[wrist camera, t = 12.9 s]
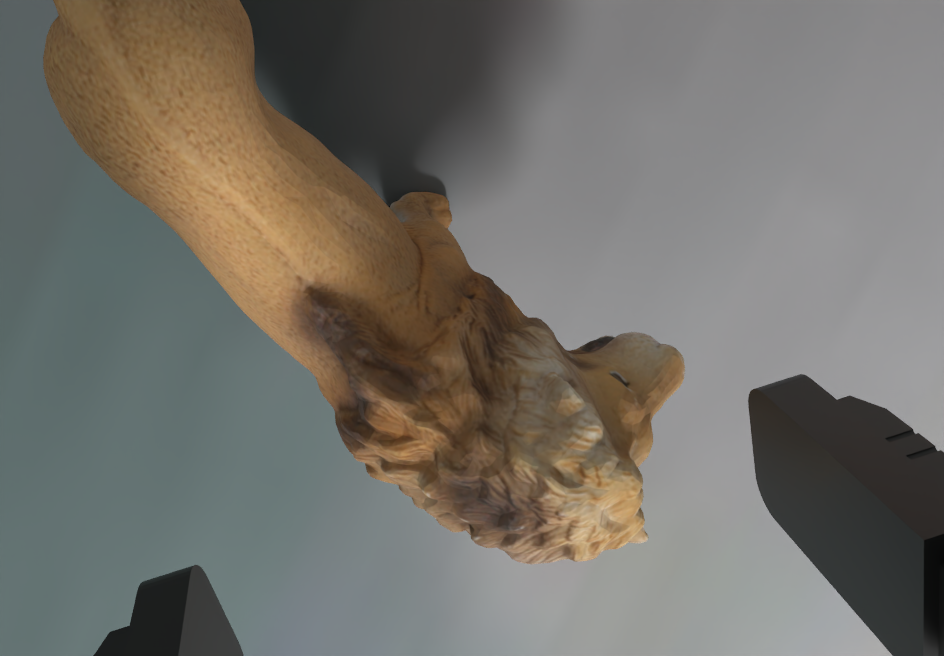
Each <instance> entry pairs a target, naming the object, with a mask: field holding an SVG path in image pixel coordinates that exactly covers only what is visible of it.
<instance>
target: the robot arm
mask: <svg viewBox="0 0 944 656" xmlns="http://www.w3.org/2000/svg"><path fill="white" fill-rule="evenodd" d="M748 403H749V414H750V424H751V434H752V444H753V454H754V463H755V473H756V480H757V484H758V487H759V491H760V493H761V496H762V498H763V501H764V503H765V505H766V507H767V509H768V510H769V512H770V513H771V515H772V516H773V518H774V519H775V520H776V521H777V523H778V524H779V525H780V526H781V527H782V528H783V529H784V531H785V532H786V533H787V534H788V535H789V536H790V538H791V539H792V540H793V541H794V542H795V543H796V544H797V546H798V547H799V548H800V549H801V550H802V551H803V553H804V554H805V555H806V556H807V557H808V558H809V559H810V561H811V562H812V563H813V564H814V565H815V566H816V568H817V569H818V570H819V571H820V572H821V573H822V574H823V576H824V577H825V578H826V579H827V580H828V581H829V583H830V584H831V585H832V586H833V587H834V588H835V589H836V591H837V592H838V593H839V594H840V595H841V596H842V597H843V599H844V600H845V601H846V602H847V603H848V604H849V606H850V607H851V608H852V609H853V610H854V611H855V612H856V614H857V615H858V616H859V617H860V618H861V619H862V621H863V622H864V623H865V624H866V625H867V626H868V627H869V629H870V630H871V631H872V632H873V633H874V634H875V636H876V637H877V638H878V639H879V640H880V641H881V642H882V644H883V645H884V646H885V647H886V648H887V649H888V651H889V652H890V653H891V654H892V655H893V656H944V452H942V451H941V450H940V451H937V450H936V448H935V446H934V445H933V444H932V443H931V442H929V441H928V440H927V439H925V438H924V437H923V436H921V435H920V434H919V433H917V434H915V433H914V432H913V429H912V428H911V427H909V426H908V425H907V424H905V423H904V422H903V421H901V420H900V419H899V418H898V417H896V416H895V415H894V414H892V413H891V412H890V411H888V410H887V409H885V408H882V407H880V406H877V405H874V404H871V403H868V402H866V401H863V400H860V399H857V398H855V397H852V396H847V397H844V398H841V399H838V400H836V399H835V398H834V397H833V396H832V395H830V394H829V393H828V392H827V391H825V390H824V389H823V388H822V387H820V386H819V385H818V384H817V383H815V382H814V381H813V380H812V379H810V378H809V377H808V376H806V375H802V374H800V375H797V376H794V377H790V378H787V379H784V380H781V381H778V382H775V383H772V384H768V385H765V386H762V387H759V388H756V389H753V390H752V391H751V392H750V394H749V400H748ZM94 656H243V652H242V649H241V647H240V644H239V642H238V640H237V638H236V636H235V634H234V632H233V630H232V627H231V625H230V623H229V621H228V619H227V617H226V615H225V613H224V611H223V609H222V607H221V605H220V603H219V600H218V598H217V596H216V594H215V592H214V590H213V588H212V586H211V584H210V582H209V580H208V578H207V576H206V574H205V572H204V571H203V569H202V568H201V567H200V566H198V565H194V566H191V567H188V568H185V569H182V570H178V571H175V572H172V573H169V574H166V575H163V576H159V577H156V578H153V579H150V580H147V581H144V582H142V583H141V584H140V586H139V588H138V591H137V595H136V600H135V604H134V609H133V613H132V618H131V622H130V626H127V627H124V628H121V629H118V630H115V631H112V632H110V633H109V634H108V635H107V637H106V638H105V640H104V641H103V643H102V644H101V646H100V647H99V649H98V650H97V652H96V653H95V654H94Z"/></svg>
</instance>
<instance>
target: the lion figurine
mask: <svg viewBox="0 0 944 656" xmlns="http://www.w3.org/2000/svg"><path fill="white" fill-rule="evenodd" d="M53 1H54V3H55V6H56V8H57V11H58V14H59V16H58V17H57V18H56V20H55V21H54V22H53V24H52V25H51V27H50V30H49V32H48V35H47V38H46V45H45V51H44V57H43V60H44V73H45V78H46V81H47V85H48V88H49V91H50V94H51V97H52V99H53V101H54V103H55V105H56V107H57V109H58V111H59V113H60V115H61V117H62V119H63V121H64V123H65V125H66V126H67V128H68V129H69V131H70V132H71V134H72V135H73V137H74V138H75V140H76V141H77V143H78V144H79V146H80V147H81V148H82V149H83V151H84V152H85V153H86V154H87V155H88V156H89V157H90V158H91V159H93V160H94V161H95V162H96V163H97V164H98V165H99V166H100V167H101V168H102V169H103V170H104V171H105V172H106V173H107V174H108V175H109V176H110V178H111V179H112V180H113V181H114V182H115V183H117V184H118V185H119V186H120V187H121V188H122V189H123V190H125V191H126V192H127V193H128V194H130V195H131V196H133V197H134V198H135V199H137V200H138V201H140V202H141V203H143V204H145V205H146V206H147V207H149V208H150V209H151V210H152V211H153V212H154V213H155V214H157V215H158V216H159V217H160V218H161V219H162V220H163V221H164V222H166V223H167V224H168V225H169V226H170V227H171V228H172V229H173V230H174V231H175V232H176V233H177V234H178V235H179V236H180V237H181V238H182V239H183V240H184V242H185V243H186V244H187V245H188V246H189V247H190V249H191V250H192V251H193V252H194V253H195V255H196V256H197V257H198V258H199V260H200V261H201V262H202V263H203V264H204V266H205V267H206V268H207V269H208V270H209V272H210V273H211V274H212V275H213V276H214V277H215V279H216V280H217V281H218V282H219V283H220V285H221V286H222V287H223V288H224V289H225V291H226V292H227V293H228V294H229V295H230V297H231V298H232V299H233V300H234V302H235V303H236V304H237V305H238V306H239V307H240V308H241V309H242V311H243V312H244V313H245V314H246V315H247V316H248V317H249V318H250V319H252V320H253V321H254V322H255V323H256V324H257V325H258V326H259V327H260V328H261V329H262V330H263V331H264V332H266V333H267V334H268V335H269V336H270V337H271V338H272V339H273V340H274V341H275V342H276V343H277V344H279V345H280V346H281V347H282V348H283V349H285V350H286V351H287V352H288V353H290V354H291V355H292V356H293V357H294V358H295V359H296V360H297V361H299V362H300V363H301V364H302V365H304V366H305V367H306V368H307V369H309V370H310V371H311V372H312V373H313V374H314V376H315V377H316V379H317V382H318V385H319V388H320V390H321V392H322V394H323V396H324V397H325V398H326V399H327V401H328V402H329V403H330V404H331V406H332V407H333V408H334V410H335V419H336V425H337V428H338V431H339V433H340V436H341V438H342V440H343V442H344V444H345V445H346V447H347V448H348V450H349V451H350V452H351V453H352V454H353V455H354V458H355V459H356V460H357V461H361V462H364V463H365V465H366V470H367V472H368V474H369V475H370V476H371V477H373V478H375V479H378V480H381V481H384V482H388V483H393V484H397V485H399V489H400V490H401V491H402V492H403V493H404V494H405V495H407V496H410V497H412V500H413V502H414V504H415V505H416V506H417V507H418V508H421V509H425V511H426V512H427V513H429V514H430V515H432V516H433V517H435V518H436V520H437V521H438V523H439V524H440V525H442V526H444V527H445V528H447V529H449V530H450V531H452V532H461V531H464V530H466V531H467V532H468V533H469V534H470V535H471V539H472V540H473V541H474V542H475V543H476V544H478V545H480V546H483V547H486V548H499V549H501V550H503V551H505V552H506V553H507V554H508V555H509V556H510V557H511V558H512V559H514V560H516V561H517V562H522V563H527V564H540V563H550V562H554V561H558V560H564V559H571V560H573V561H575V562H578V561H586V560H592V559H594V558H596V557H597V556H598V555H599V554H600V553H601V552H602V551H604V550H608V549H618V548H620V547H622V546H624V545H625V544H626V543H628V542H630V543H642V542H646V541H647V540H648V535H647V534H646V532H645V530H644V528H643V525H644V522H645V520H644V515H643V512H642V510H641V508H640V506H641V504H642V500H643V490H642V485H643V479H642V475H641V473H640V471H639V470H638V467H639V466H640V465H641V463H642V462H643V461H644V460H645V459H646V458H647V457H648V455H649V452H650V450H651V447H652V443H653V434H652V427H651V420H652V417H653V416H654V414H655V413H656V412H657V411H658V410H659V409H660V408H661V407H662V405H663V404H664V402H665V401H666V400H667V399H668V398H669V397H670V396H671V395H672V394H673V393H674V392H675V391H676V390H677V389H678V388H679V387H680V386H681V384H682V382H683V379H684V371H685V367H684V359H683V357H682V355H681V353H680V352H679V351H678V350H677V349H676V348H674V347H672V346H670V345H666V344H660V343H658V342H657V341H656V340H655V339H653V338H652V337H651V336H649V335H646V334H642V333H634V332H630V333H624V334H621V335H618V336H617V337H612V336H604V337H600V338H599V339H597V340H594V341H591V342H589V343H587V344H585V345H583V346H581V347H580V348H578V349H576V350H571V351H567V350H565V349H564V348H563V347H562V346H561V344H560V343H559V342H558V341H557V339H556V337H555V335H554V333H553V332H552V330H551V329H550V328H549V327H548V326H547V324H545V323H544V322H543V321H542V320H541V319H538V318H528V317H526V316H525V315H524V314H523V313H522V312H521V311H520V309H519V308H518V307H517V306H516V305H515V303H514V302H513V300H512V299H511V297H510V296H509V295H507V294H505V293H504V292H503V291H502V290H501V289H500V288H499V287H498V286H497V285H496V284H494V282H493V280H492V279H490V278H489V277H486V276H484V275H482V274H479V273H477V272H474V271H473V270H472V269H471V268H470V266H469V265H468V263H467V261H466V258H465V256H464V253H463V252H462V250H461V248H460V246H459V244H458V243H457V241H456V239H455V238H454V236H453V235H452V233H451V232H450V231H449V230H448V227H449V225H450V223H451V221H452V215H451V212H450V210H449V201H448V200H447V198H446V197H444V196H443V195H439V194H436V193H431V192H410V193H408V194H405V195H403V196H402V197H401V198H400V199H399V200H398V201H396V202H393V203H392V204H391V205H390V208H389V207H388V206H387V205H386V203H385V202H384V201H383V200H382V199H381V198H380V197H379V196H378V195H377V193H376V192H375V191H374V190H373V189H372V188H371V187H370V186H369V185H368V184H367V183H366V182H365V181H364V180H363V179H361V178H360V177H359V176H358V175H357V174H356V173H355V172H354V171H352V170H351V169H350V168H349V167H347V166H346V165H345V164H344V163H342V162H341V161H340V160H339V159H337V158H336V157H335V156H334V155H333V154H332V153H331V152H330V151H329V150H328V149H327V148H326V147H325V146H324V145H323V144H322V143H321V142H320V141H319V140H318V139H317V138H315V137H314V136H313V135H312V134H310V133H309V132H307V131H306V130H304V129H303V128H302V127H300V126H299V125H297V124H296V123H294V122H293V121H291V120H290V119H288V118H287V117H285V116H284V115H282V114H281V113H279V112H278V111H277V110H275V109H274V108H273V107H272V106H271V105H270V104H269V103H268V102H267V101H266V99H265V98H264V97H263V95H262V94H261V92H260V91H259V88H258V86H257V84H256V80H255V50H254V41H253V33H252V27H251V24H250V20H249V17H248V15H247V13H246V11H245V10H244V8H243V6H242V4H241V2H240V0H53Z"/></svg>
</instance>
